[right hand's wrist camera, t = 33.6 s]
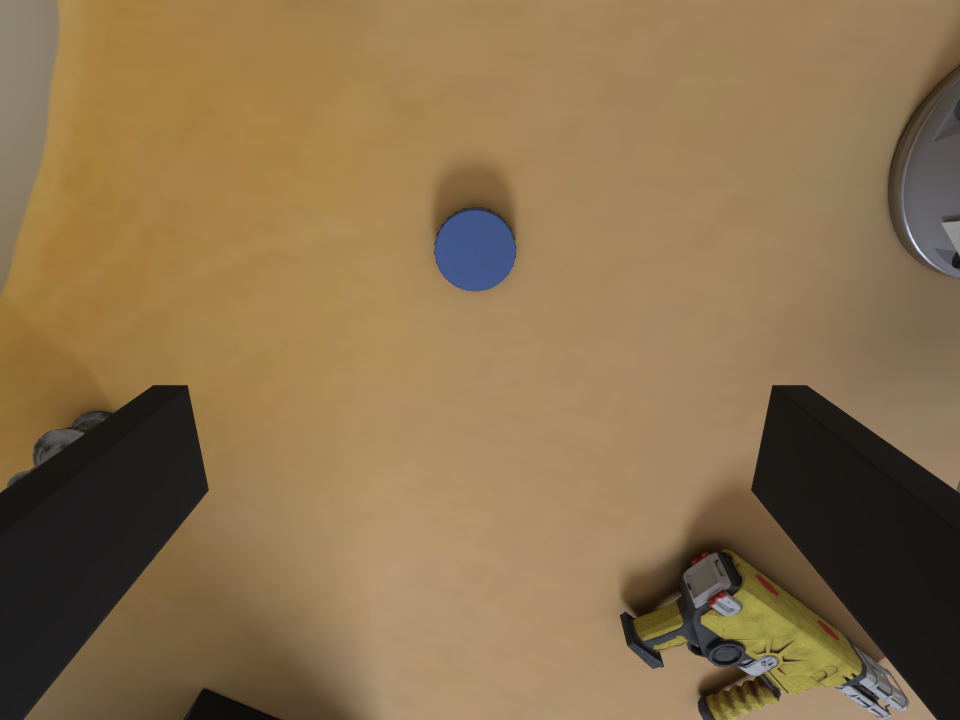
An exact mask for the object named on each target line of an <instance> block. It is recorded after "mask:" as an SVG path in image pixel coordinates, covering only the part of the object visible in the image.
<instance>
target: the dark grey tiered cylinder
mask: <svg viewBox="0 0 960 720" xmlns="http://www.w3.org/2000/svg"><path fill="white" fill-rule="evenodd" d="M111 415H112V414H110V413H107V412H100V411H95V412H88V413H86V414H83V415H81V416H80V417H79V418H77V419H76V420H75V421H74V423H73V424H72V426H71V427H68V428H64V429H55V430H53V431H50V432H47V433H46V434H44V435H43V436H42V437H41V438H39V439H38V441H37V443H36V444H35V446H34V451H33V460H34V465H35V467H34V468H33V469H31V470H30V471H25V472H20V473H18V474H16V475H14V476H13V477H12V478H11V479H10V480H9V482H8V485H7V488H8V487H10V486H11V485H13V484H14V483H16V482H17V481H18V480H20V479H21V478H23V477H24V476H25V475H27V474H28V473H30V472H31V471H33V470H34V469H35V468H37V467H38V466H40V465H41V464H43V463H44V462H45V461H47V460H48V459H50V458H51V457H52V456H54V455H55V454H57V453H58V452H60V451H61V450H62V449H64V448H65V447H67V446H68V445H69V444H71V443H72V442H74V441H75V440H77V439H78V438H79V437H81V436H82V435H84V434H85V433H86V432H88V431H89V430H91V429H92V428H94V427H95V426H96V425H98V424H99V423H101V422H102V421H103V420H105V419H106V418H108V417H109V416H111ZM7 488H6V489H7ZM6 489H5V490H6ZM3 491H4V490H3ZM3 491H2V492H3ZM0 493H1V492H0Z"/></svg>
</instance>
